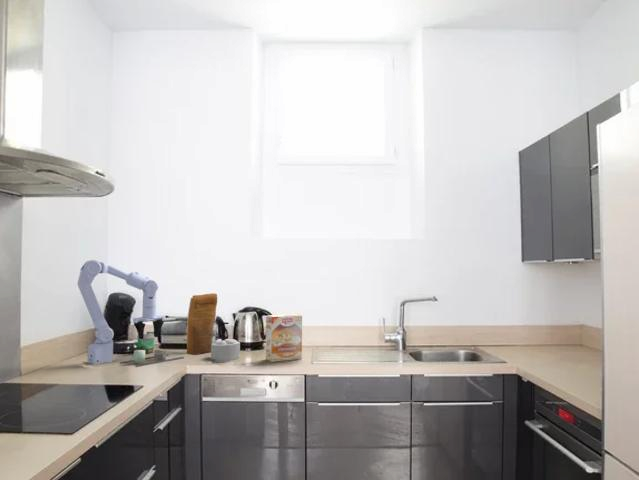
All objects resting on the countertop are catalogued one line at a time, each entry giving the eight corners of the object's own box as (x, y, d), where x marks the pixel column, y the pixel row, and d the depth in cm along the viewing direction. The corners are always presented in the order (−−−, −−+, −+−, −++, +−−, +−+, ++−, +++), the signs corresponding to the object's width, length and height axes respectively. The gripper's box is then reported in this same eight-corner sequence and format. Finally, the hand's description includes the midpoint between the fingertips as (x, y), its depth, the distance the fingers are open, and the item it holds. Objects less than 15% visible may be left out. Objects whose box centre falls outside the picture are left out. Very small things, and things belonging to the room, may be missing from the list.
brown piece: (137, 367, 201) (137, 355, 201) (124, 365, 206) (124, 353, 206) (168, 362, 213) (168, 350, 213) (155, 359, 218) (155, 348, 218)
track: (137, 369, 199) (137, 365, 199) (120, 365, 206) (120, 361, 206) (184, 360, 218) (184, 356, 218) (166, 357, 225) (166, 354, 225)
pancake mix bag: (221, 350, 243) (221, 293, 244) (190, 356, 227) (191, 295, 229) (211, 349, 247) (212, 292, 248) (180, 355, 231) (181, 294, 233)
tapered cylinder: (137, 364, 204) (138, 352, 204) (131, 363, 206) (131, 351, 207) (147, 362, 207) (147, 350, 207) (140, 361, 210) (141, 349, 210)
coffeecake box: (271, 362, 214) (271, 316, 215) (265, 359, 221) (265, 315, 222) (302, 359, 221) (302, 314, 222) (295, 356, 228) (295, 313, 229)
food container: (150, 357, 226) (150, 335, 226) (136, 357, 226) (137, 335, 226) (159, 352, 238) (159, 331, 239) (146, 352, 238) (147, 331, 239)
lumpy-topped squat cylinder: (243, 358, 223) (243, 338, 224) (222, 363, 212) (222, 342, 213) (226, 356, 229) (226, 337, 229) (205, 360, 218) (205, 340, 218)
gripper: (140, 308, 214) (139, 340, 213) (168, 306, 225) (168, 336, 224) (130, 307, 218) (130, 339, 217) (158, 305, 229) (158, 335, 229)
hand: (148, 337), depth 221 cm, fingers open, 7 cm apart
